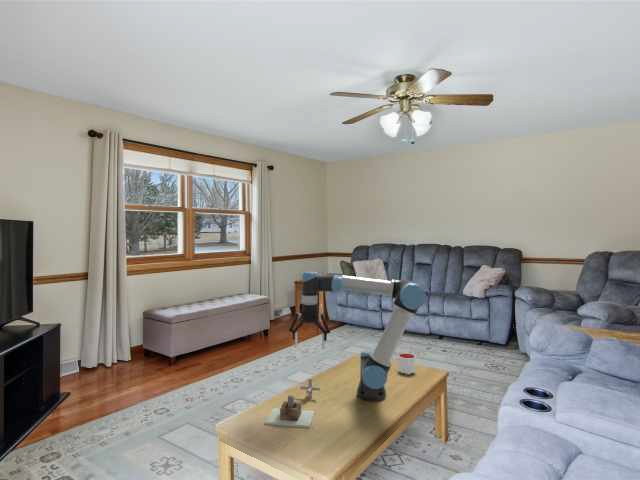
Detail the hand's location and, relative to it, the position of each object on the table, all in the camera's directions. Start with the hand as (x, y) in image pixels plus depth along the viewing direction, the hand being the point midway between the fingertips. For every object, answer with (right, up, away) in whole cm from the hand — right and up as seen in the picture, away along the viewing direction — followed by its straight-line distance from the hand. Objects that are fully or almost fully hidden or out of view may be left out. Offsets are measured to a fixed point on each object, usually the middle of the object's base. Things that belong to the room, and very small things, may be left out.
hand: (309, 346), depth 186 cm
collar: (-8, -28, -14) cm, 32 cm away
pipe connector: (0, -29, +8) cm, 30 cm away
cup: (+58, -29, +46) cm, 79 cm away
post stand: (-8, -29, -14) cm, 33 cm away
